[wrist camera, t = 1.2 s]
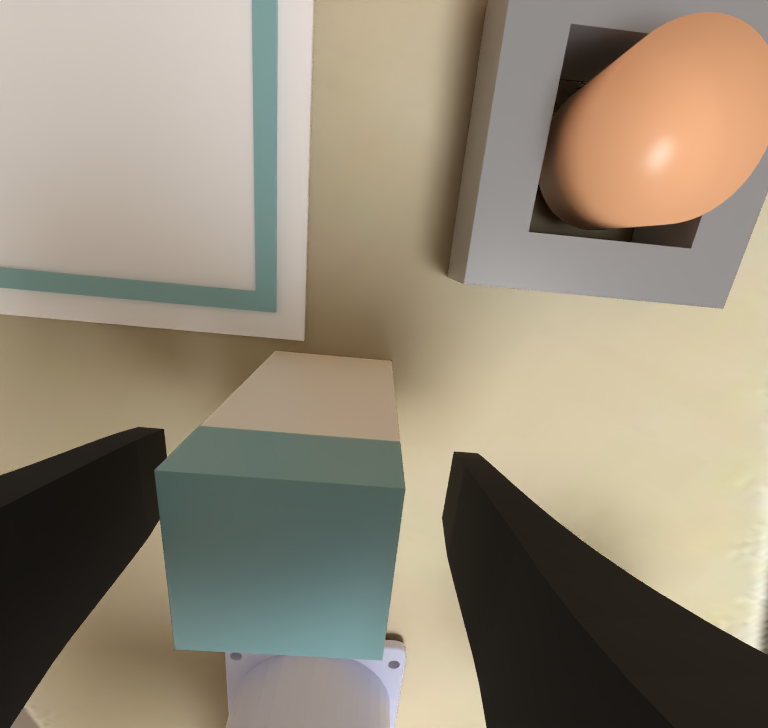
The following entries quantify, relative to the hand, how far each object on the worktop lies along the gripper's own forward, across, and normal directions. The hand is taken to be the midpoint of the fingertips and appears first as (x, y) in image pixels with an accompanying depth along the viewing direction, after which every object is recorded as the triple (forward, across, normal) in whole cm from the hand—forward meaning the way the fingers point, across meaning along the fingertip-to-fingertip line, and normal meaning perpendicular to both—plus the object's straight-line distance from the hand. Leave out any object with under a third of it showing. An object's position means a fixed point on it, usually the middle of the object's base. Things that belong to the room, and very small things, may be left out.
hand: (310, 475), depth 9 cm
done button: (+3, -7, -8) cm, 11 cm away
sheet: (+4, +7, -8) cm, 12 cm away
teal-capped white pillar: (+4, 0, 0) cm, 4 cm away
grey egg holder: (+4, -7, -8) cm, 12 cm away
